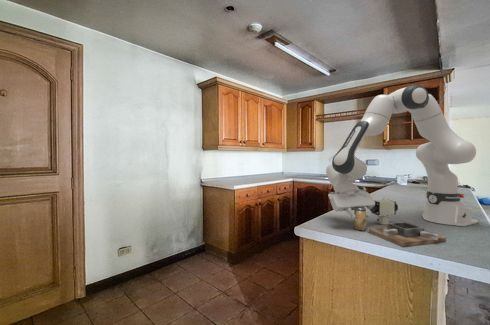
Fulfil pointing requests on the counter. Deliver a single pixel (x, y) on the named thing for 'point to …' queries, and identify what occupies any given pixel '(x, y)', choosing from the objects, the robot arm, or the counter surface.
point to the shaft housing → (406, 234)
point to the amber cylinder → (360, 218)
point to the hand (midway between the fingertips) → (361, 217)
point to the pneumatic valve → (384, 210)
